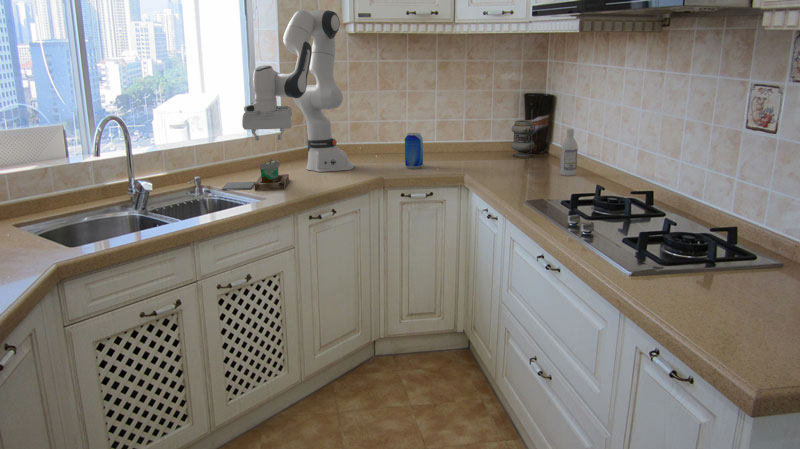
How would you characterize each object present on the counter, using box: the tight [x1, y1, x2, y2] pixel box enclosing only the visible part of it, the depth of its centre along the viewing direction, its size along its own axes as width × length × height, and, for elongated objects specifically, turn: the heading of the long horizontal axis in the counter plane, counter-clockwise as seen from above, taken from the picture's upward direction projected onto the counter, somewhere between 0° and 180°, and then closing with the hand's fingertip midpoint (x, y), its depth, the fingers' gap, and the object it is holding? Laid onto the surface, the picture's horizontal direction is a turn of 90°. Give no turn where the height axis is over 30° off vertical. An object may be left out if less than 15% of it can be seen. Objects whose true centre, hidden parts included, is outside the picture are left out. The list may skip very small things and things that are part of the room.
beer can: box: [404, 132, 424, 170], centre depth 302 cm, size 8×8×16 cm
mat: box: [221, 181, 256, 191], centre depth 272 cm, size 12×12×1 cm
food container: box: [259, 158, 281, 183], centre depth 273 cm, size 12×6×10 cm, turn 171°
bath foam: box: [559, 128, 579, 177], centre depth 279 cm, size 7×7×20 cm
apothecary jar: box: [510, 119, 536, 159], centre depth 323 cm, size 12×12×18 cm
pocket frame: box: [254, 173, 290, 191], centre depth 274 cm, size 12×18×2 cm, turn 3°
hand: (268, 139), depth 269 cm, fingers open, 8 cm apart
